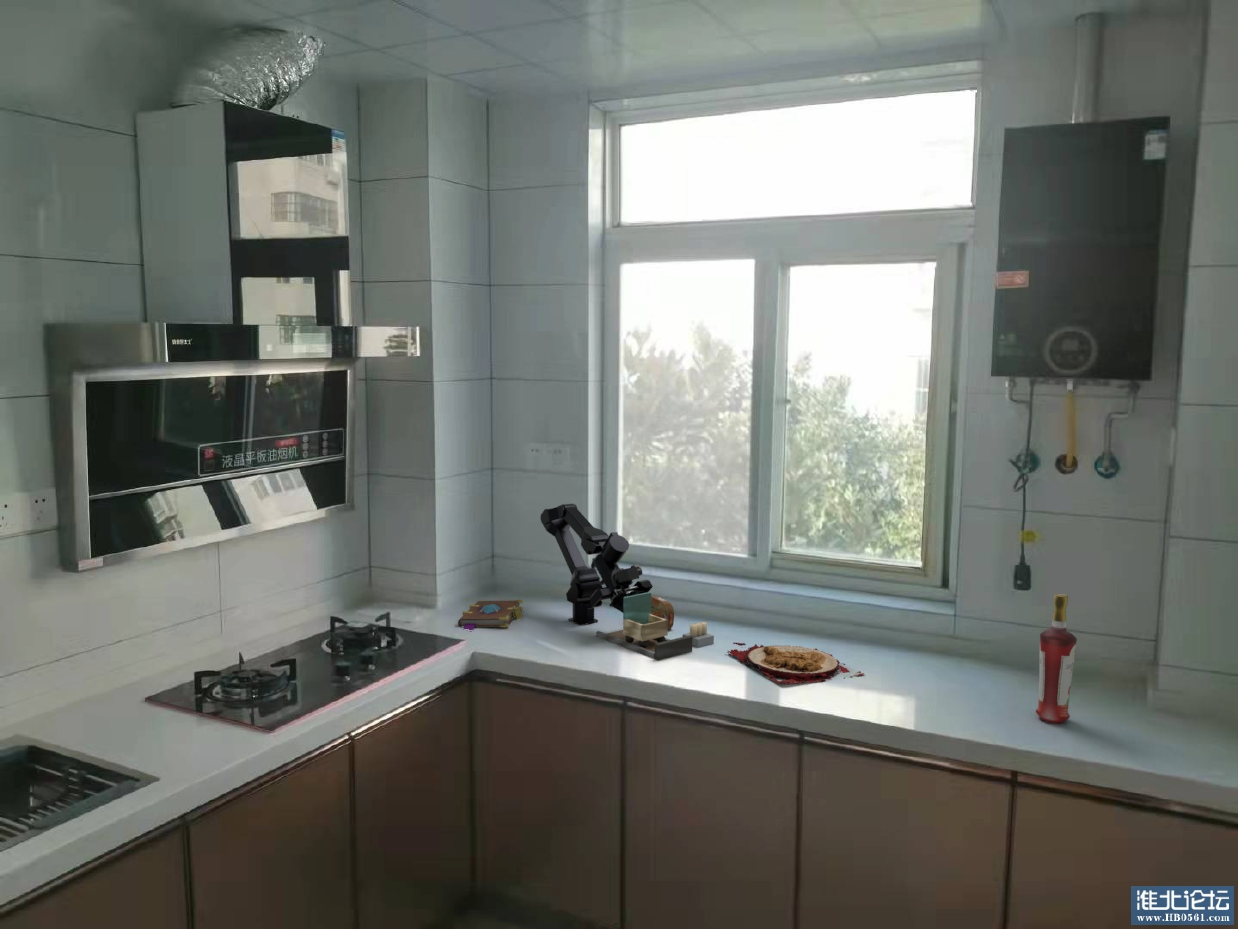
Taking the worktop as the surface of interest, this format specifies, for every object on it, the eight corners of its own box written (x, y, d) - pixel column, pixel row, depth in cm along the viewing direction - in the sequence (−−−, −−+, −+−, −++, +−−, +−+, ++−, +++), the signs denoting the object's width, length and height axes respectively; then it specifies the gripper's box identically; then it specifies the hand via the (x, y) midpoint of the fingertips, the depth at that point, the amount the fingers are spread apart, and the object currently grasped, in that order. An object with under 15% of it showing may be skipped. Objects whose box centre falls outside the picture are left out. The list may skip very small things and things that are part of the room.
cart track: (595, 638, 263) (595, 621, 262) (628, 631, 270) (628, 614, 270) (658, 663, 243) (658, 645, 242) (692, 654, 250) (692, 636, 250)
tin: (642, 620, 281) (642, 592, 280) (651, 619, 283) (652, 591, 282) (665, 634, 268) (666, 605, 267) (675, 633, 269) (676, 604, 268)
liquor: (1039, 710, 215) (1048, 589, 211) (1074, 719, 210) (1083, 595, 207) (1029, 720, 209) (1038, 596, 206) (1065, 728, 204) (1074, 602, 201)
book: (452, 635, 268) (451, 618, 267) (476, 612, 292) (475, 596, 292) (509, 635, 266) (508, 618, 265) (528, 611, 290) (527, 595, 290)
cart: (622, 642, 256) (623, 597, 254) (647, 636, 262) (648, 592, 260) (642, 650, 250) (643, 603, 248) (667, 644, 255) (668, 598, 254)
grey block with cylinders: (682, 645, 258) (682, 623, 258) (698, 641, 262) (698, 619, 261) (697, 650, 254) (698, 628, 253) (713, 646, 258) (714, 624, 257)
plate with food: (781, 691, 227) (782, 677, 226) (726, 655, 251) (727, 642, 250) (865, 680, 236) (866, 666, 236) (805, 646, 260) (806, 633, 260)
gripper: (596, 559, 254) (622, 608, 247) (648, 551, 266) (674, 597, 259) (578, 583, 261) (603, 631, 254) (630, 573, 273) (655, 619, 266)
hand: (635, 619), depth 258 cm, fingers closed, pressing on cart
